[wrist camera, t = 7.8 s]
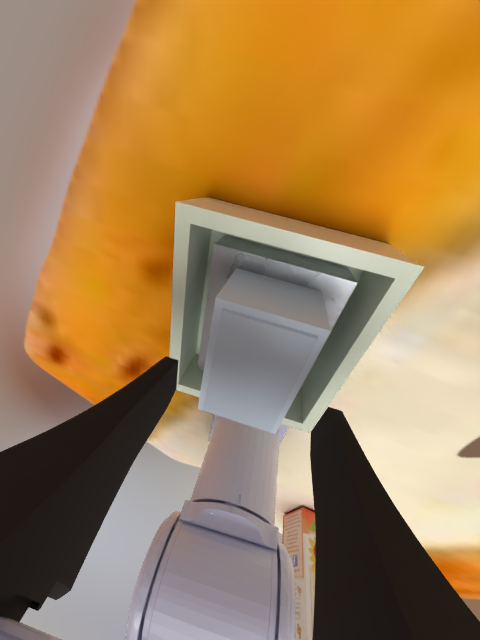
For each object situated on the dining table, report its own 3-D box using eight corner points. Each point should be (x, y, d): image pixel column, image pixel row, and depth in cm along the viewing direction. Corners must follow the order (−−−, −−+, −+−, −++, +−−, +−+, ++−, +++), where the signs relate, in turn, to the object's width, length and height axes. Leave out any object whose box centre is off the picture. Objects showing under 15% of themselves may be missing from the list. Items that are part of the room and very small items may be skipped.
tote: (306, 388, 21) (309, 432, 17) (190, 352, 22) (168, 387, 18) (388, 243, 13) (424, 266, 10) (207, 196, 14) (175, 201, 10)
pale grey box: (279, 384, 17) (274, 437, 13) (216, 365, 17) (195, 412, 14) (321, 291, 12) (332, 334, 9) (236, 267, 13) (213, 300, 9)
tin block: (294, 375, 19) (294, 398, 17) (207, 349, 20) (197, 368, 18) (347, 267, 14) (357, 282, 12) (225, 234, 14) (214, 243, 12)
